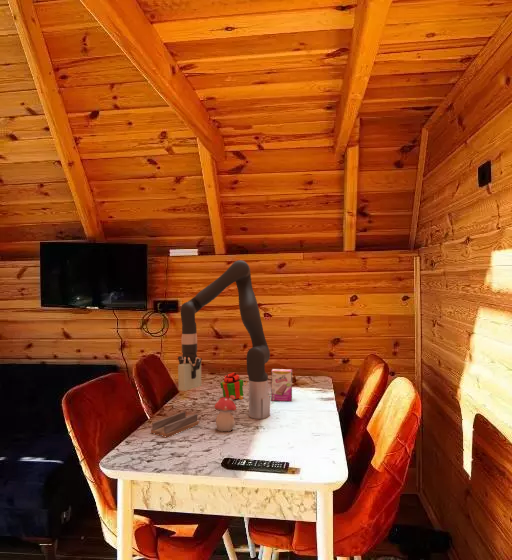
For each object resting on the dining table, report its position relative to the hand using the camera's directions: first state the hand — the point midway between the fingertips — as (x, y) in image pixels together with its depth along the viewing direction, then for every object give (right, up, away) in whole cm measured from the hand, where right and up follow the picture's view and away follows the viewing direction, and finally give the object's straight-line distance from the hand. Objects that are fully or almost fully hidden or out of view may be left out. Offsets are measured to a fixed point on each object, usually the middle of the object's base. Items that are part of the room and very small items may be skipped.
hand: (190, 377), depth 201 cm
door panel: (0, -5, 0) cm, 5 cm away
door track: (-3, -17, -21) cm, 27 cm away
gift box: (+20, -18, +25) cm, 37 cm away
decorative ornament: (+19, -17, -22) cm, 34 cm away
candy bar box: (+46, -18, +22) cm, 54 cm away
